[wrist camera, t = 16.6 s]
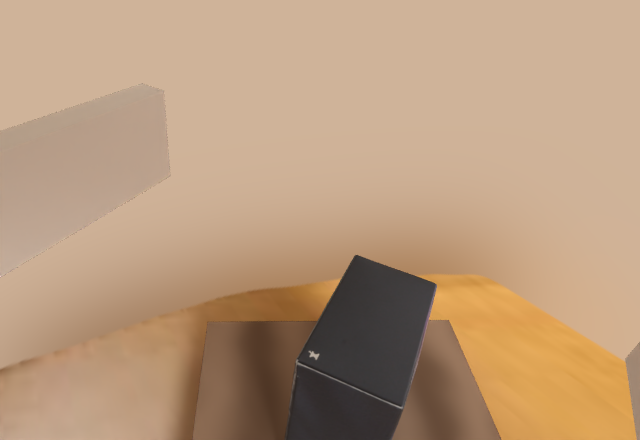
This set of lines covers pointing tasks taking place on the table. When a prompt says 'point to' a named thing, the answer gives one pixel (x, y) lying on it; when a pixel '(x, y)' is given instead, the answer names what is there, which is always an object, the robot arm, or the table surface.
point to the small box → (360, 356)
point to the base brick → (277, 376)
